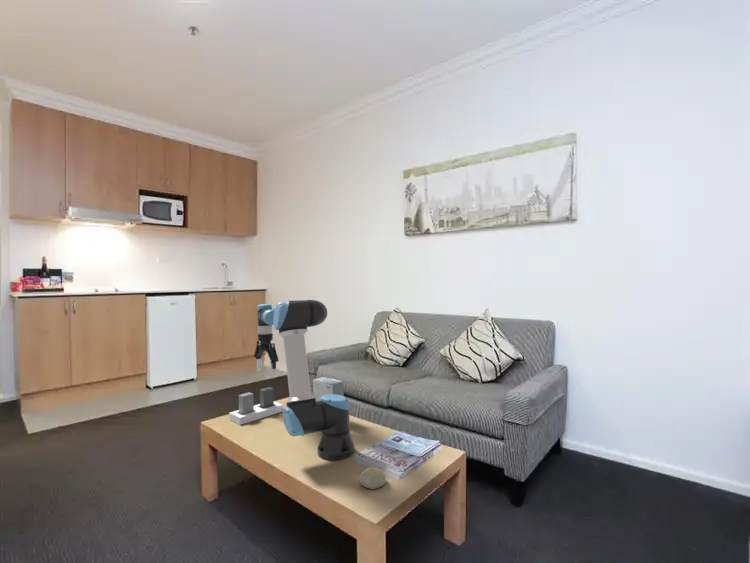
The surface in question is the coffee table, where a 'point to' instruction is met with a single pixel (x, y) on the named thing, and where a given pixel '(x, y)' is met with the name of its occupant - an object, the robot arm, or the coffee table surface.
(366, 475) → the sea urchin shell
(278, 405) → the socket strip
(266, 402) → the grey rectangular block
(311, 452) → the coffee table surface
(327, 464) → the coffee table surface
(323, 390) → the hard drive box
